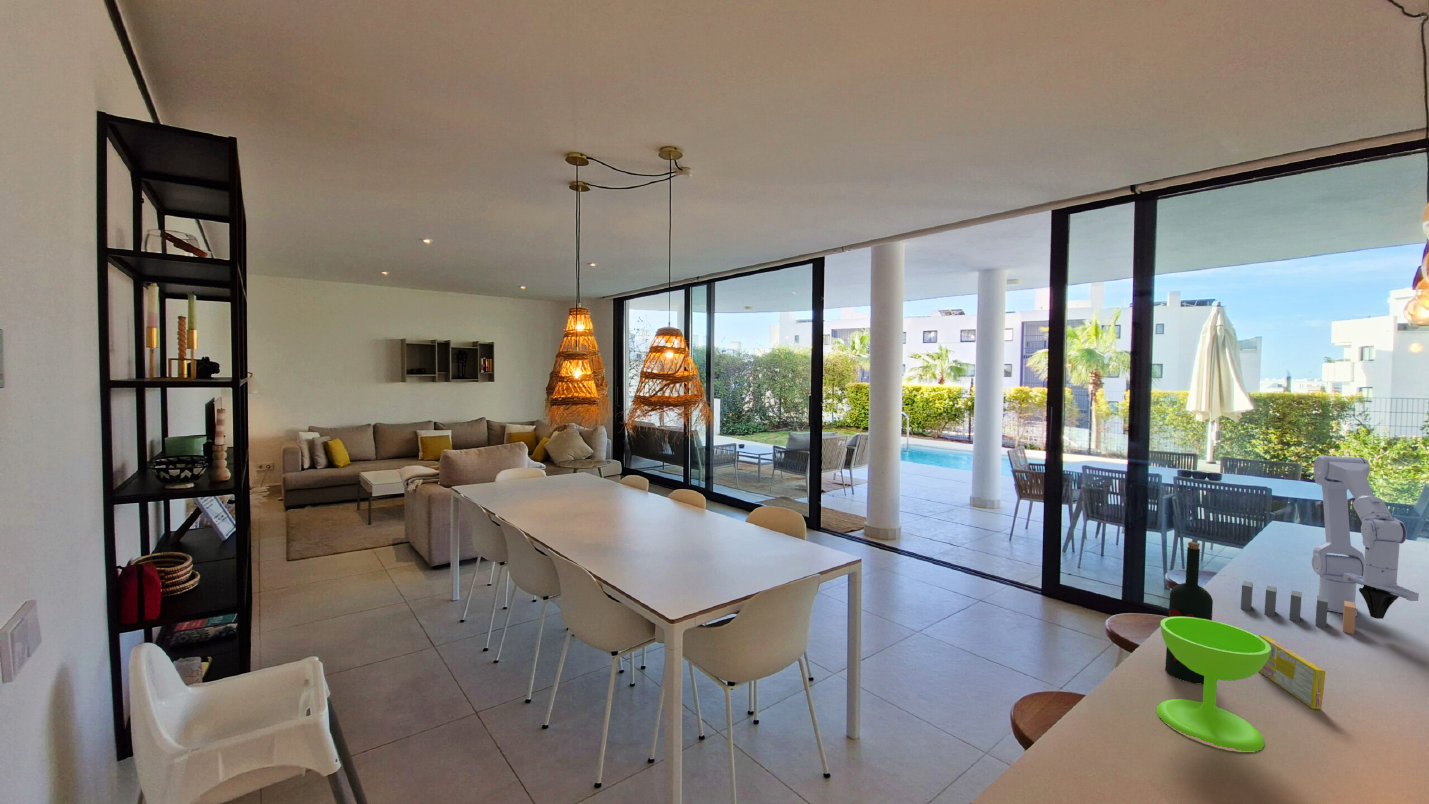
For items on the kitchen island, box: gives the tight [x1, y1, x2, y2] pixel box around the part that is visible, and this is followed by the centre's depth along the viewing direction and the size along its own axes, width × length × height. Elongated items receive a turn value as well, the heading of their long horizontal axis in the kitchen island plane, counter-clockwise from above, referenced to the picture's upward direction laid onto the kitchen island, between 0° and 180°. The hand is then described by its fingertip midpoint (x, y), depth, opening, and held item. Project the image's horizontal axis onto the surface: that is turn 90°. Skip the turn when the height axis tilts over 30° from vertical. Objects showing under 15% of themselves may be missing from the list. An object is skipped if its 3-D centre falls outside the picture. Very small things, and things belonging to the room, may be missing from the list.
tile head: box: [1342, 601, 1357, 635], centre depth 154 cm, size 5×2×7 cm, turn 133°
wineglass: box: [1155, 616, 1271, 752], centre depth 111 cm, size 16×16×18 cm
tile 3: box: [1289, 589, 1303, 623], centre depth 161 cm, size 5×2×7 cm, turn 134°
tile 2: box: [1315, 594, 1328, 628], centre depth 158 cm, size 5×2×7 cm, turn 134°
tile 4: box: [1264, 584, 1278, 617], centre depth 165 cm, size 5×2×7 cm, turn 134°
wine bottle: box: [1164, 541, 1214, 685], centre depth 129 cm, size 8×10×30 cm
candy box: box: [1258, 634, 1326, 710], centre depth 125 cm, size 16×2×8 cm, turn 168°
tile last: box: [1240, 580, 1254, 612], centre depth 168 cm, size 5×2×7 cm, turn 134°
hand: (1376, 617), depth 150 cm, fingers closed
